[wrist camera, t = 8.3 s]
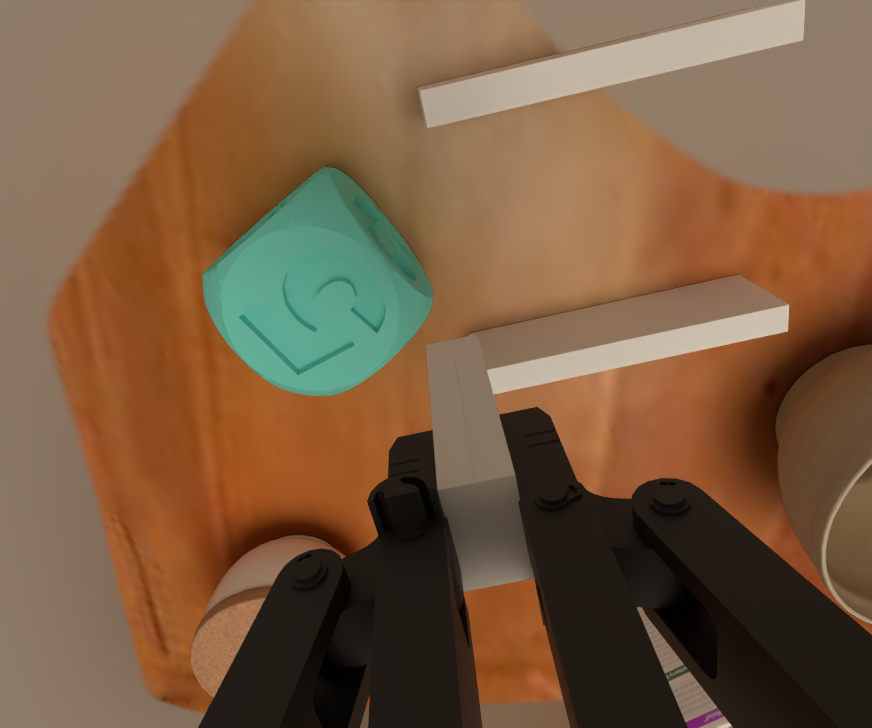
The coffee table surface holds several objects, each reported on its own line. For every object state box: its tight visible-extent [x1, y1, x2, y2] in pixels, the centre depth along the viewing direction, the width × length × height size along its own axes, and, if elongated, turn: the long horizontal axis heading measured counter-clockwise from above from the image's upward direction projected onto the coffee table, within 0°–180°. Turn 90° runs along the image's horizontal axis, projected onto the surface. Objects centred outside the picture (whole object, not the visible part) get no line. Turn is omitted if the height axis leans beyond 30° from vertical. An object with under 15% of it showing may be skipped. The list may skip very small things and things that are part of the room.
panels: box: [417, 0, 805, 394], centre depth 30 cm, size 16×15×5 cm
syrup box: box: [637, 607, 733, 728], centre depth 38 cm, size 6×6×14 cm
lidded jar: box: [190, 535, 346, 698], centre depth 39 cm, size 11×11×9 cm
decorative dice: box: [202, 167, 433, 396], centre depth 30 cm, size 8×8×8 cm
